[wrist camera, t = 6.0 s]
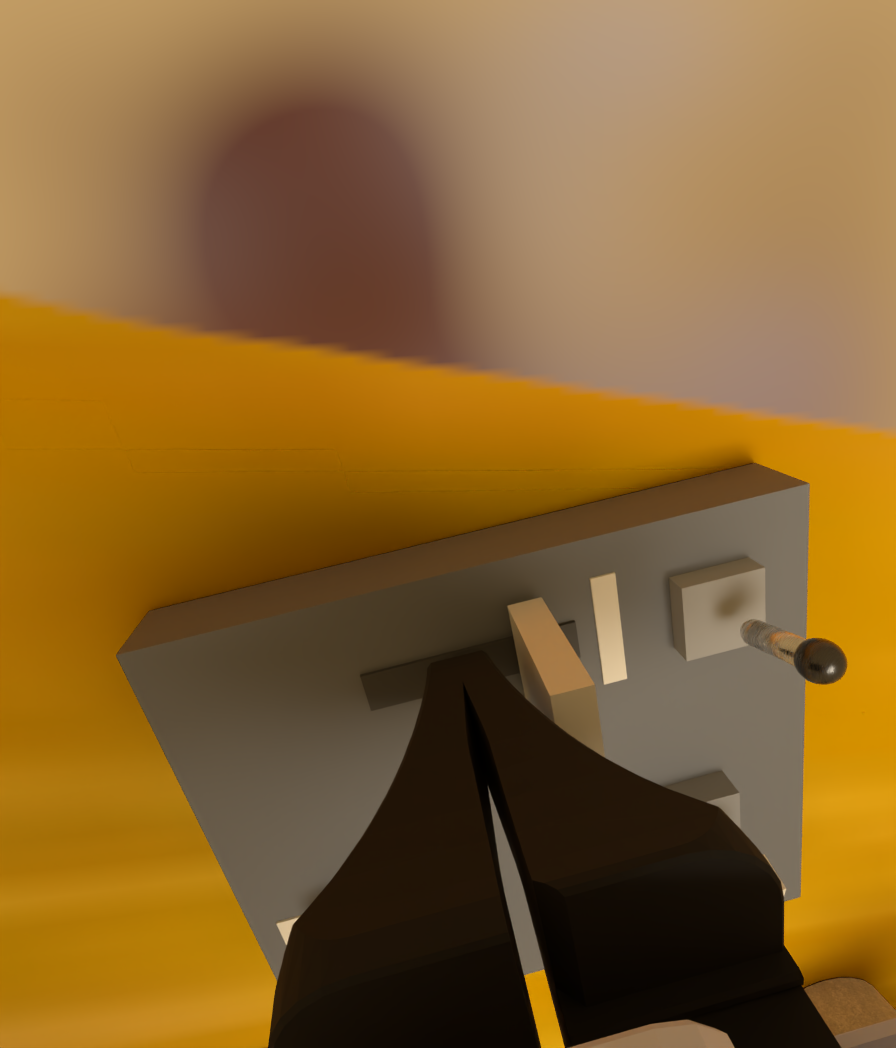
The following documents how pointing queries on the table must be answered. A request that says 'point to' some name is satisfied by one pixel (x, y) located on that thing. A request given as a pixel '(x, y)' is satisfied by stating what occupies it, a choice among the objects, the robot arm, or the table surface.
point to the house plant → (849, 1004)
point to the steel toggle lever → (797, 651)
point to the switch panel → (484, 624)
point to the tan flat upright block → (555, 673)
